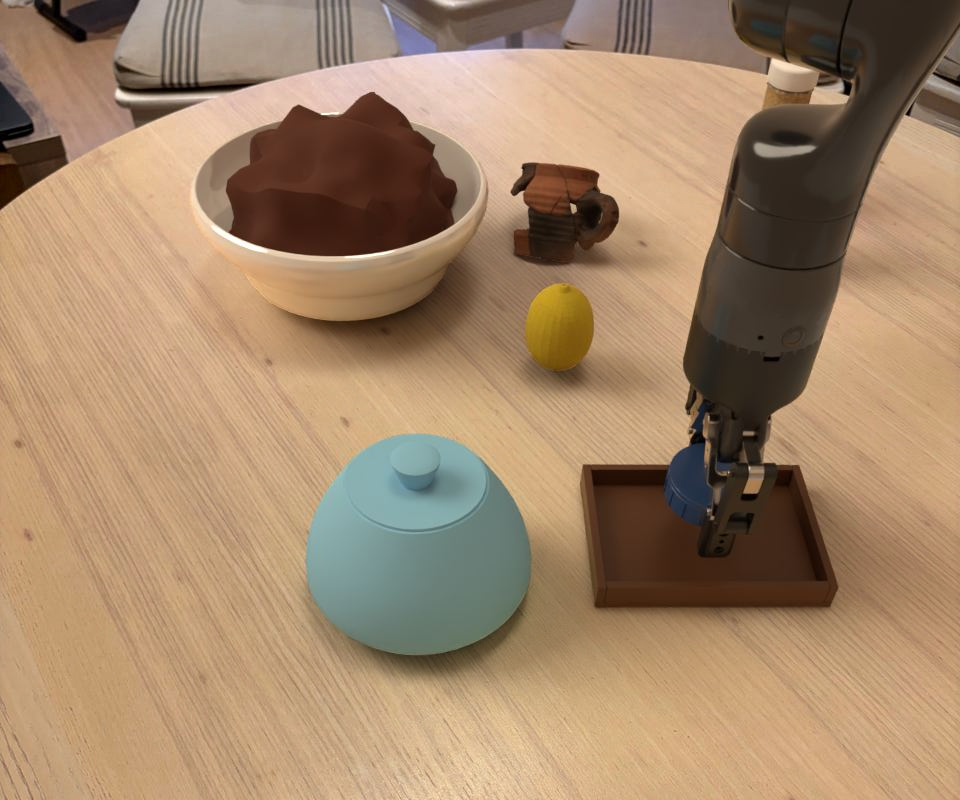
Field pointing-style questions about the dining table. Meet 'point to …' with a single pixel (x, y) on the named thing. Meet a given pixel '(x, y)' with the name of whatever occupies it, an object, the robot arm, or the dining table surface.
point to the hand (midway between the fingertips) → (704, 516)
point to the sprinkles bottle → (789, 84)
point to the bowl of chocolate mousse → (341, 208)
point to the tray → (673, 547)
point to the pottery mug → (562, 211)
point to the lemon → (559, 327)
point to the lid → (689, 484)
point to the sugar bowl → (417, 547)
